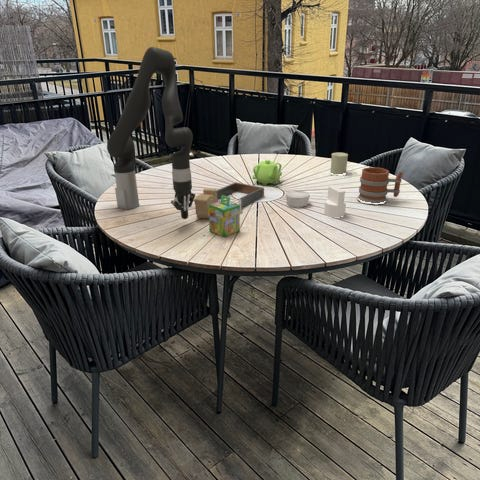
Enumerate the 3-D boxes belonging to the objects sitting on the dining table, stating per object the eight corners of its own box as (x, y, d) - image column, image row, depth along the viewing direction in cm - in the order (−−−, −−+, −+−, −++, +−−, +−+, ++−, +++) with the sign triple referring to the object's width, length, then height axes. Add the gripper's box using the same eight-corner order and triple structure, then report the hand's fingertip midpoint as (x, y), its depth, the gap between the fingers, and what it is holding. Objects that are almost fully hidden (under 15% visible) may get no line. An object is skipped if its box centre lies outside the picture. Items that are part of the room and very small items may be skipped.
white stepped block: (320, 212, 188) (322, 187, 183) (337, 209, 191) (339, 184, 186) (331, 219, 181) (333, 193, 175) (348, 216, 183) (351, 190, 178)
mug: (355, 195, 209) (358, 165, 202) (395, 196, 206) (399, 166, 200) (358, 205, 196) (362, 174, 190) (401, 206, 194) (406, 174, 188)
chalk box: (208, 231, 171) (207, 196, 165) (225, 224, 177) (224, 191, 171) (224, 237, 165) (223, 202, 159) (240, 231, 171) (240, 196, 165)
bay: (240, 213, 189) (240, 203, 187) (199, 203, 201) (198, 194, 199) (269, 197, 208) (270, 188, 206) (230, 189, 220) (230, 181, 218)
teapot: (287, 181, 232) (288, 159, 226) (276, 188, 221) (277, 165, 215) (261, 177, 239) (261, 155, 234) (249, 184, 228) (249, 161, 223)
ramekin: (310, 201, 202) (311, 191, 200) (307, 209, 192) (308, 198, 190) (287, 199, 205) (287, 189, 203) (283, 207, 195) (283, 196, 193)
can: (326, 173, 246) (328, 152, 240) (339, 171, 249) (341, 150, 244) (336, 177, 238) (338, 156, 233) (349, 174, 241) (351, 154, 236)
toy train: (218, 208, 196) (217, 187, 191) (207, 221, 181) (206, 199, 176) (207, 207, 197) (206, 186, 193) (195, 220, 182) (193, 198, 178)
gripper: (177, 184, 162) (180, 225, 170) (199, 175, 172) (201, 215, 179) (163, 181, 166) (167, 221, 174) (185, 173, 176) (188, 211, 183)
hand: (184, 218), depth 176 cm, fingers closed
